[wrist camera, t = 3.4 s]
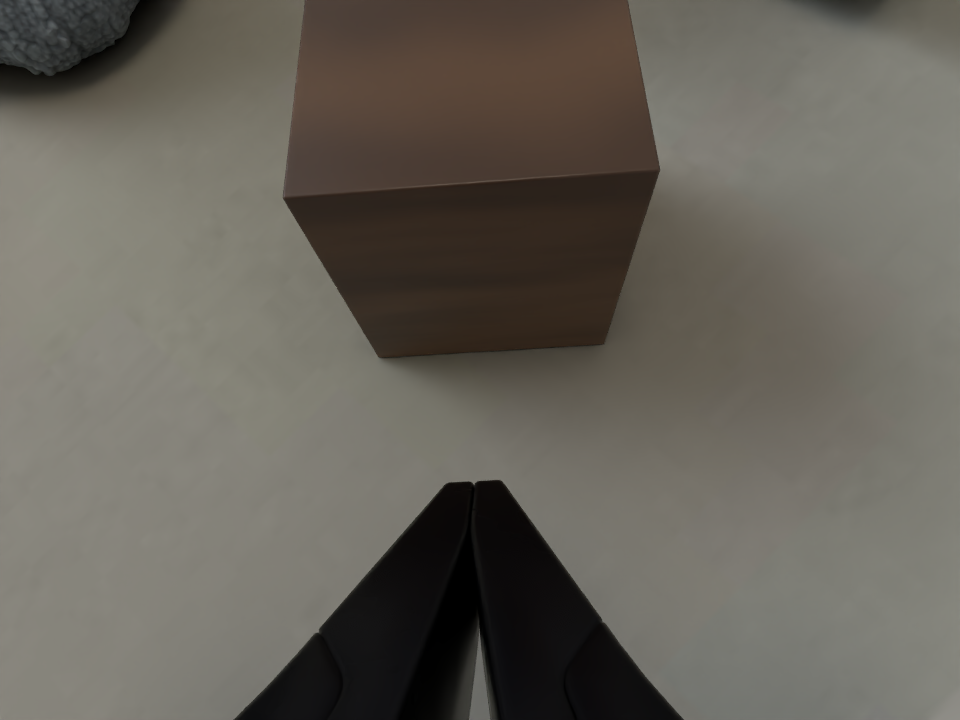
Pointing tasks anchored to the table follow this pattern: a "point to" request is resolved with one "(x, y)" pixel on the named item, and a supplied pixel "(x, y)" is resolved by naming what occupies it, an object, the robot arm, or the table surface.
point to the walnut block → (472, 167)
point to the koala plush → (59, 31)
